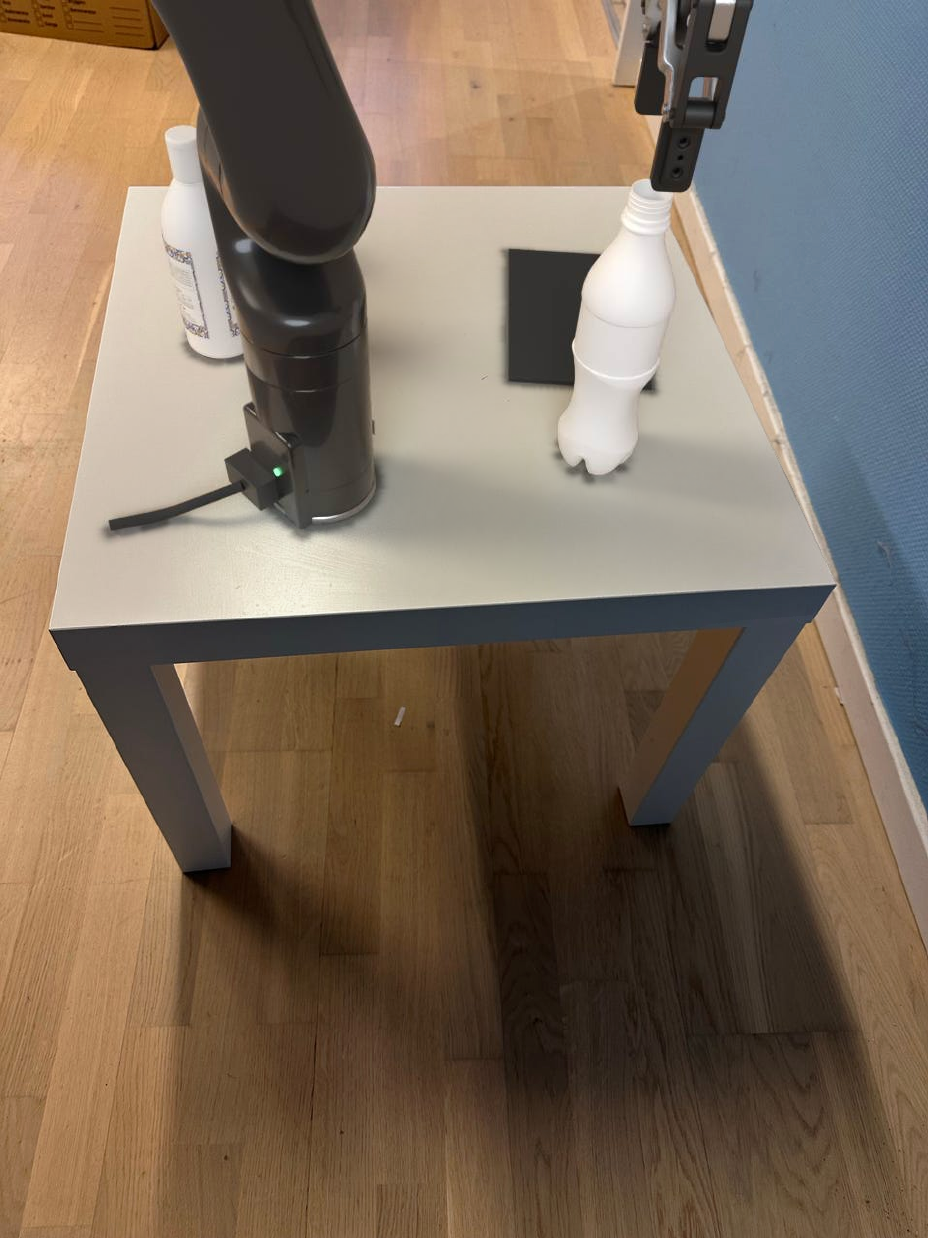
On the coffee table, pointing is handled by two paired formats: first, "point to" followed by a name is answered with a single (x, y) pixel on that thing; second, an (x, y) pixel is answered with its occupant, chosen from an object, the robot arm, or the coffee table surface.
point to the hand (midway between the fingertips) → (659, 148)
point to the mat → (545, 314)
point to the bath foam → (196, 253)
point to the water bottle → (620, 334)
